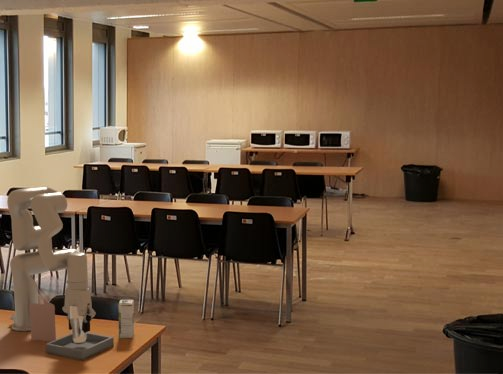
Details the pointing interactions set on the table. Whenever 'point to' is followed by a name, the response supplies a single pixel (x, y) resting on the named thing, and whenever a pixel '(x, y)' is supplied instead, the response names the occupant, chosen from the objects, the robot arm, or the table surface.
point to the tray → (79, 346)
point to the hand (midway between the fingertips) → (79, 329)
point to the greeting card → (43, 321)
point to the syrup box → (126, 318)
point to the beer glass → (77, 326)
